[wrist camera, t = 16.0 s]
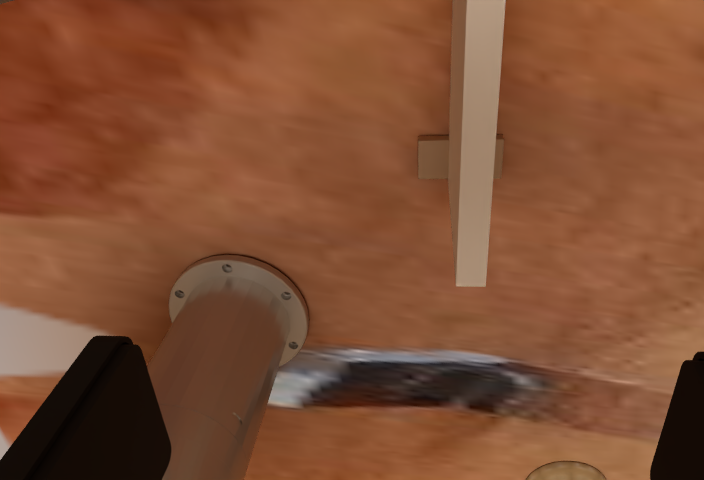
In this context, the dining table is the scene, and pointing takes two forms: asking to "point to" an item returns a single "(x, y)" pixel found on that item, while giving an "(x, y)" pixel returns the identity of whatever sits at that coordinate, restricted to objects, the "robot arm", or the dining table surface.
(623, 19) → the dining table surface
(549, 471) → the hand bell
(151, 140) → the dining table surface
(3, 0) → the thermos bottle
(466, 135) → the screen
